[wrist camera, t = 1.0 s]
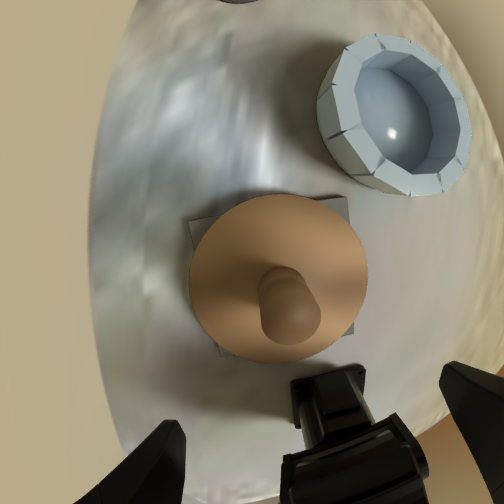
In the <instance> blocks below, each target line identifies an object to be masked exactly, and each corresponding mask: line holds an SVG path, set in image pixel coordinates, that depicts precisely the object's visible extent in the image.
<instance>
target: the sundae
mask: <svg viewBox="0 0 504 504" xmlns="http://www.w3.org/2000/svg"><path fill="white" fill-rule="evenodd" d="M222 1H225V2H229V3H247V2H253V1H257V0H222Z"/></svg>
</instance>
